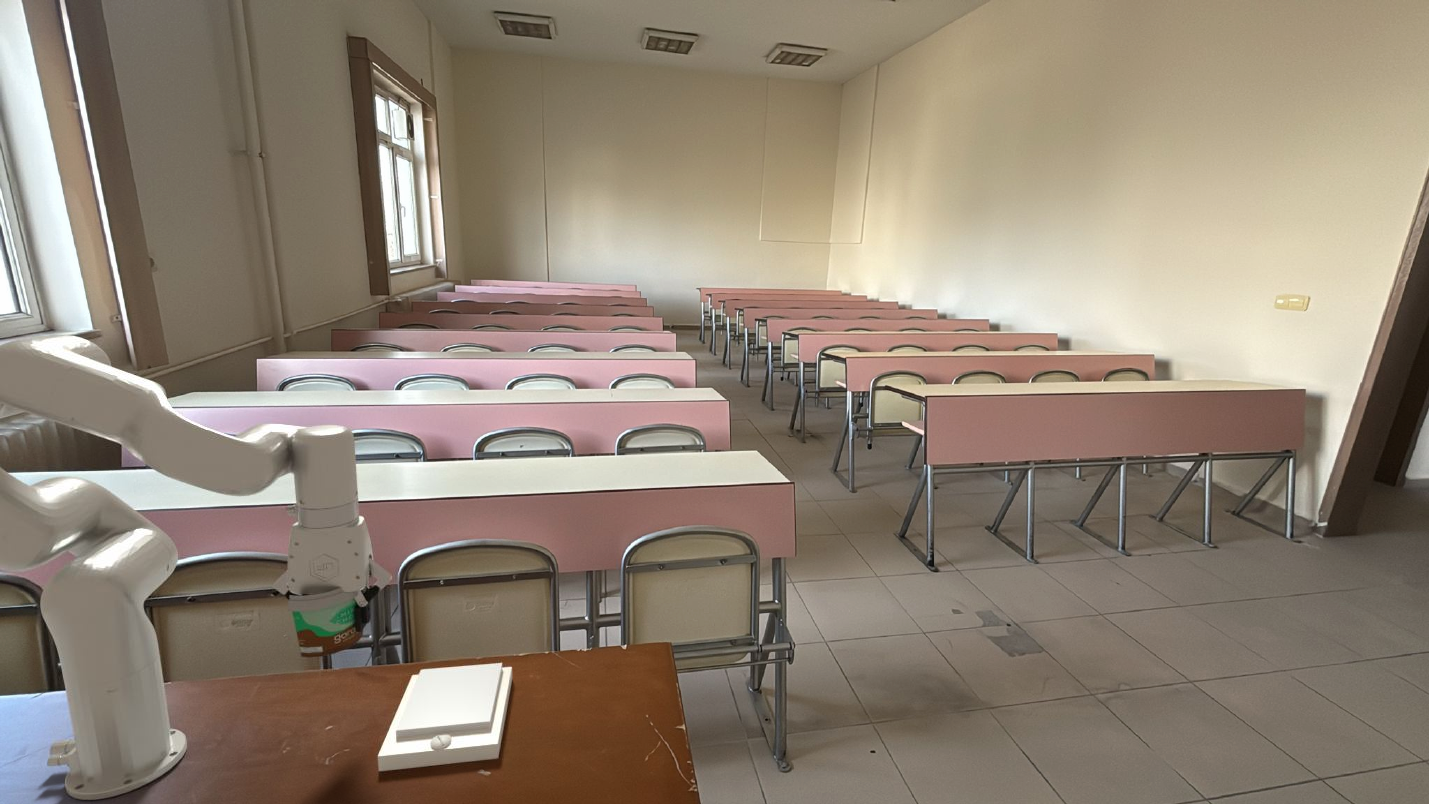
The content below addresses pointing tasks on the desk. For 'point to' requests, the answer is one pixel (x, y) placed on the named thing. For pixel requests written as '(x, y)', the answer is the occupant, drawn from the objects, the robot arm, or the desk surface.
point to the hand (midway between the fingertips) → (337, 627)
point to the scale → (448, 717)
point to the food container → (325, 622)
